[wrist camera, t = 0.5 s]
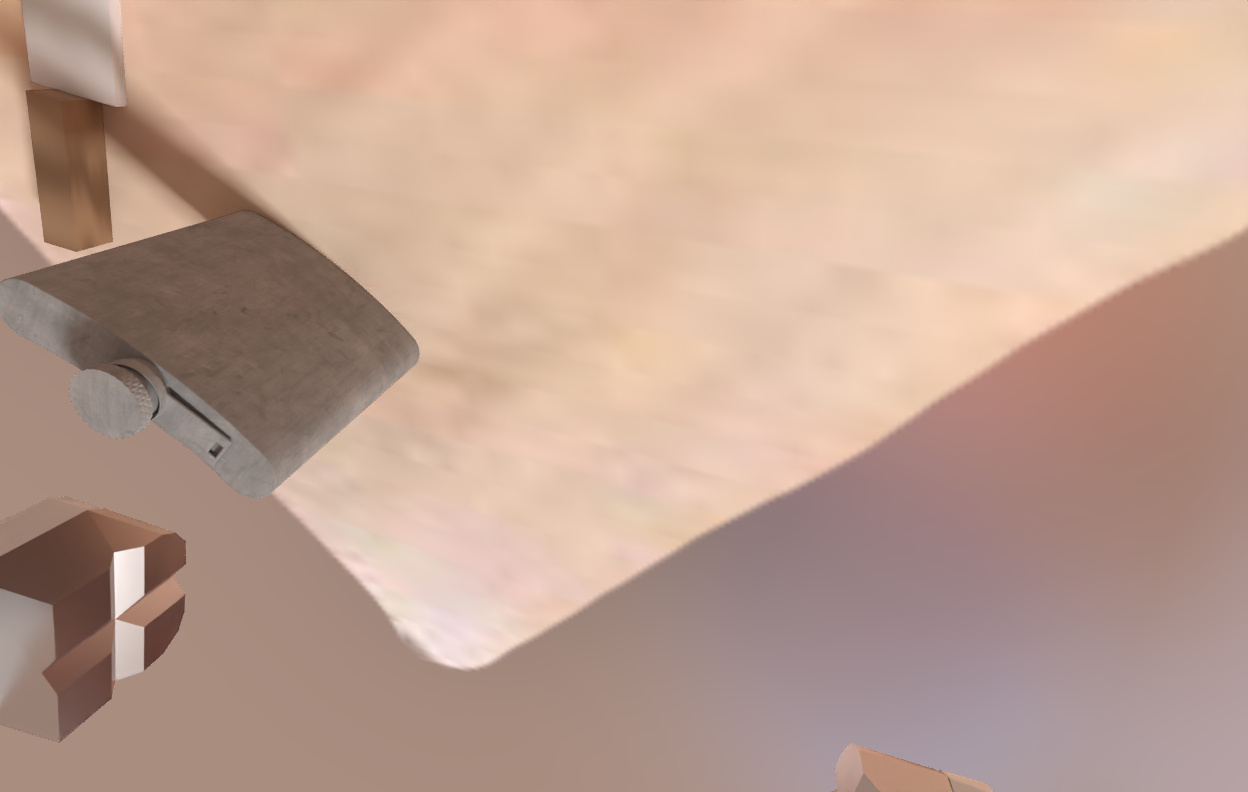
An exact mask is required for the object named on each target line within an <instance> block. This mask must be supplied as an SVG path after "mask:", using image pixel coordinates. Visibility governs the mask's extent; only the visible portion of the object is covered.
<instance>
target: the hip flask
mask: <svg viewBox="0 0 1248 792" xmlns="http://www.w3.org/2000/svg"><path fill="white" fill-rule="evenodd" d="M0 315H1V317H2V318H3V320H4V321H5V322H6V323H7V325H8V326H9V327H10V328H11V329H13V330H14V331H15V332H16V333H17V334H19V335H21V336H22V337H24V338H26V339H28V340H30V341H32V342H34V343H36V344H38V345H40V346H42V347H44V348H45V349H47V350H49V351H51V352H52V353H54V354H56V355H58V356H59V357H61V358H63V359H64V360H66V361H68V362H69V363H71V364H73V365H75V366H76V367H78V368H79V369H81V370H82V371H80V372H79V373H77V374H76V375H75V376H74V377H73V378H72V381H71V382H70V388H69V390H70V397H71V402H72V404H73V406H74V409H75V410H76V411H77V413H78V415H79V416H80V417H81V418H82V420H83V421H84V422H85V423H87V424H88V425H89V426H90V427H91V428H93V429H94V430H95V431H97V432H99V433H101V434H102V435H105V436H108V437H110V438H116V439H118V438H121V439H123V438H125V437H127V438H128V437H130V436H131V435H134V434H136V433H137V432H138V431H140V430H143V429H144V427H146V426H147V425H148V423H150V422H151V421H152V422H154V423H155V424H156V425H158V426H159V427H160V428H162V429H163V430H164V431H166V432H167V433H168V434H170V435H171V436H172V437H174V438H175V439H177V440H178V441H179V442H180V443H182V444H183V445H185V446H186V447H187V448H189V449H190V450H191V451H192V452H193V453H195V454H196V455H197V456H198V457H199V458H201V459H202V460H203V461H204V462H205V463H206V464H207V465H208V466H209V467H210V468H211V469H212V470H214V471H215V472H216V473H217V474H218V475H219V476H220V477H221V478H222V479H223V480H224V481H225V482H226V483H227V484H228V485H229V486H230V487H232V488H233V489H234V490H235V491H237V492H238V493H240V494H242V495H244V496H248V497H252V498H261V497H265V496H267V495H269V494H270V493H271V492H273V491H274V490H275V489H276V488H277V487H278V486H279V485H280V484H282V483H283V482H284V481H285V480H286V479H287V478H288V477H289V476H291V475H292V474H293V473H294V472H295V471H296V470H297V469H298V468H300V467H301V466H302V465H303V464H304V463H305V462H306V461H307V460H309V459H310V458H311V457H312V456H313V455H314V454H315V453H316V452H318V451H319V450H320V449H321V448H322V447H323V446H324V445H325V444H327V443H328V442H329V441H330V440H331V439H332V438H333V437H334V436H336V435H337V434H338V433H339V432H340V431H341V430H342V429H343V428H345V427H346V426H347V425H348V424H349V423H350V422H351V421H352V420H354V419H355V418H356V417H357V416H358V415H359V414H360V413H361V412H363V411H364V410H365V409H366V408H367V407H368V406H369V405H370V404H372V403H373V402H374V401H375V400H376V399H377V398H378V397H379V396H381V395H382V394H383V393H384V392H385V391H386V390H387V389H388V388H390V387H391V386H392V385H393V384H394V383H395V382H396V381H397V380H399V379H400V378H401V377H402V376H403V375H404V374H405V373H406V372H407V371H409V370H410V369H411V368H412V367H413V366H414V365H415V364H416V363H417V361H418V359H419V348H418V345H417V343H416V341H415V340H414V338H413V337H412V336H411V335H410V334H409V333H408V332H407V330H406V329H405V328H404V327H403V326H402V325H401V324H400V323H399V322H398V321H397V320H396V319H395V318H394V317H393V315H392V314H391V313H390V312H389V311H388V310H386V309H385V308H384V307H383V306H382V305H381V304H380V303H379V302H378V301H377V300H376V299H375V298H374V297H373V296H372V295H371V294H370V293H368V292H367V291H366V290H365V289H364V288H363V287H362V286H360V285H359V284H358V283H357V282H356V281H355V280H353V279H352V278H351V277H350V276H349V275H347V274H346V273H345V272H344V271H342V270H341V269H340V268H339V267H337V266H336V265H335V264H333V263H332V262H331V261H330V260H328V259H327V258H326V257H324V256H323V255H322V254H320V253H319V252H318V251H316V250H315V249H314V248H312V247H311V246H309V245H308V244H306V243H305V242H303V241H302V240H300V239H299V238H297V237H296V236H294V235H293V234H291V233H290V232H288V231H287V230H285V229H283V228H282V227H280V226H278V225H277V224H275V223H273V222H272V221H270V220H268V219H266V218H264V217H263V216H261V215H259V214H257V213H255V212H253V211H240V212H237V213H233V214H230V215H226V216H223V217H219V218H216V219H212V220H209V221H206V222H202V223H199V224H195V225H192V226H188V227H185V228H181V229H178V230H174V231H171V232H168V233H164V234H161V235H157V236H154V237H150V238H147V239H143V240H140V241H136V242H133V243H129V244H126V245H123V246H119V247H116V248H112V249H109V250H105V251H102V252H98V253H95V254H91V255H88V256H85V257H81V258H78V259H74V260H71V261H67V262H64V263H60V264H57V265H53V266H50V267H47V268H43V269H40V270H36V271H33V272H29V273H26V274H22V275H19V276H15V277H12V278H9V279H5V280H3V281H2V282H1V283H0Z"/></svg>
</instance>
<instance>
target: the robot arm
mask: <svg viewBox="0 0 1248 792" xmlns="http://www.w3.org/2000/svg"><path fill="white" fill-rule="evenodd" d="M185 565H186V541H185V540H184V539H183V538H182V537H180V536H179V535H178V534H177V533H175V532H172V531H169V530H166V529H163V528H160V527H157V526H154V525H151V524H148V523H146V522H143V521H140V520H137V519H134V518H131V517H128V516H125V515H122V514H119V513H116V512H113V511H110V510H107V509H104V508H103V509H101V508H98V507H96V506H93V505H90V504H87V503H84V502H81V501H78V500H75V499H72V498H69V497H50V498H47V499H46V500H43V501H41V502H39V503H37V504H35V505H33V506H31V507H29V508H27V509H25V510H23V511H20V512H19V513H16V514H14V515H12V516H10V517H8V518H6V519H4V520H2V521H0V725H2V726H5V727H9V728H12V729H15V730H19V731H22V732H25V733H29V734H32V735H35V736H39V737H42V738H45V739H48V740H52V741H55V742H58V743H60V742H61V741H62V740H63V739H65V738H66V737H67V736H68V735H69V734H70V733H72V732H73V731H74V730H75V729H76V728H77V727H79V726H80V725H81V724H82V723H84V722H85V721H86V720H87V719H88V718H89V717H90V716H92V715H93V714H94V713H95V712H96V711H98V710H99V709H100V708H101V707H102V706H104V705H105V704H106V703H107V702H108V701H109V700H111V698H112V695H113V690H114V685H115V681H116V680H119V679H122V678H125V677H128V676H131V675H134V674H137V673H140V672H143V671H144V670H145V669H147V668H148V667H149V666H150V665H151V664H152V663H153V662H155V661H156V660H157V659H158V658H159V657H160V656H161V655H162V654H163V653H164V652H165V650H166V649H167V647H168V646H169V644H170V643H171V641H172V640H173V638H174V637H175V635H176V634H177V632H178V630H179V628H180V624H181V621H182V618H183V615H184V611H185V593H184V592H183V590H182V588H181V587H180V585H179V583H178V581H177V580H176V578H175V576H174V575H175V574H176V573H177V572H178V571H179V570H180V569H182V568H183V567H184V566H185ZM835 775H836V781H837V790H835V791H833V792H994V791H993V790H992V789H991V788H990V787H989V786H988V785H987V784H986V783H984V782H980V781H977V780H974V779H970V778H967V777H963V776H960V775H956V774H953V773H949V772H946V771H943V770H939V771H937V770H935V769H932V768H929V767H926V766H922V765H919V764H916V763H913V762H909V761H906V760H903V759H899V758H896V757H893V756H890V755H886V754H883V753H880V752H877V751H873V750H870V749H867V748H863V747H860V746H857V745H854V744H850V745H849V746H848V747H847V748H846V749H845V750H844V751H843V752H842V754H841V756H840V758H839V760H838V763H837V765H836V767H835Z"/></svg>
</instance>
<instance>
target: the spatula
mask: <svg viewBox="0 0 1248 792" xmlns="http://www.w3.org/2000/svg"><path fill="white" fill-rule="evenodd" d="M21 3H22V11H23V19H24V28H25V36H26V45H27V53H28V62H29V70H30V78H31V82H33V83H36V84H40V85H43V86H46V87H50V88H53V90H28V91H26V96H27V104H28V112H29V120H30V129H31V137H32V145H33V153H34V161H35V169H36V178H37V186H38V194H39V202H40V210H41V219H42V227H43V235H44V242H46V243H49V244H52V245H56V246H59V247H62V248H66V249H69V250H72V251H75V252H78V251H81V250H85V249H88V248H92V247H95V246H99V245H103V244H106V243H110V242H113V237H112V224H111V211H110V199H109V186H108V173H107V160H106V147H105V134H104V121H103V109H102V103H104V104H107V105H111V106H114V107H121V106H127V103H126V87H125V72H124V56H123V40H122V24H121V8H120V0H21Z"/></svg>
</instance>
